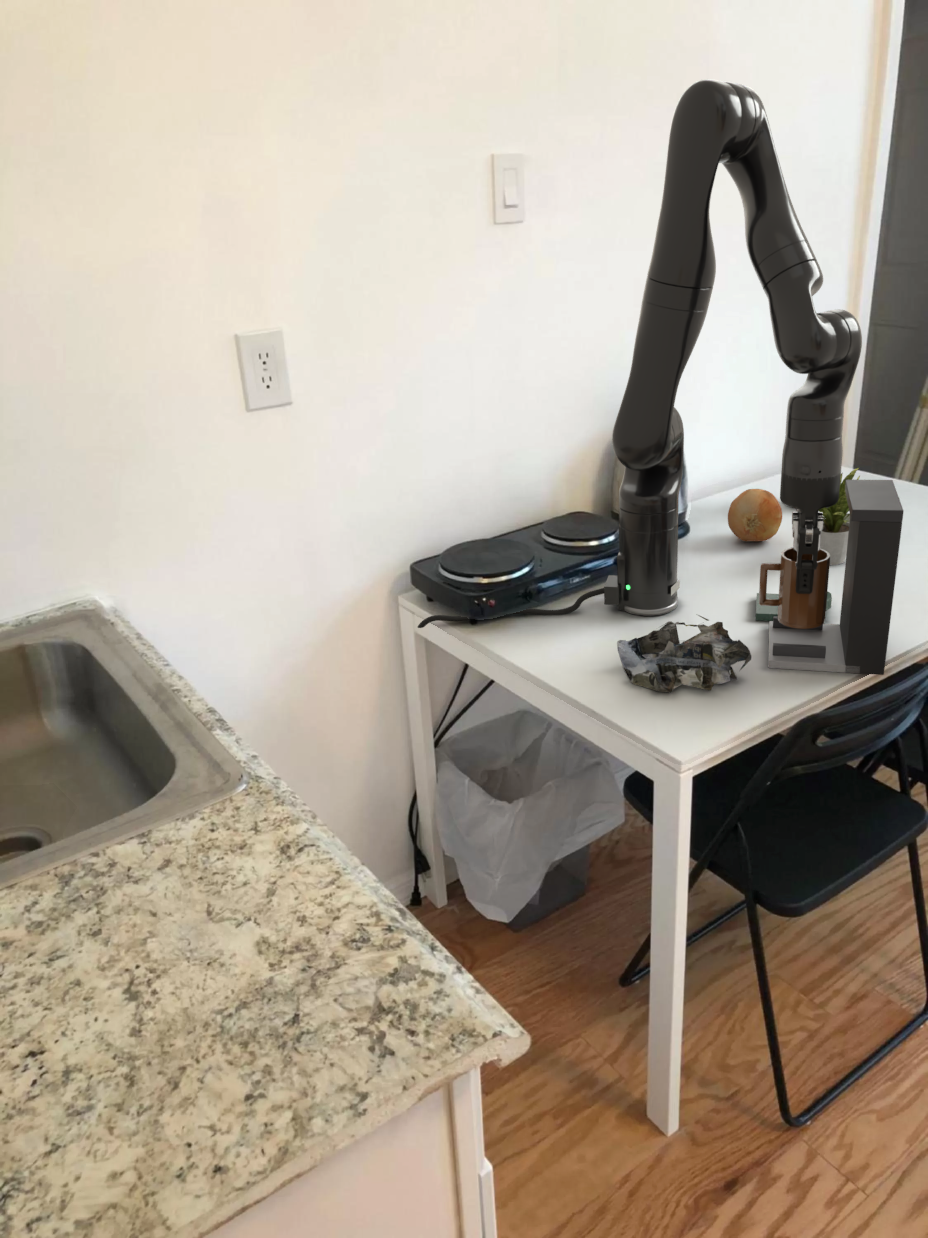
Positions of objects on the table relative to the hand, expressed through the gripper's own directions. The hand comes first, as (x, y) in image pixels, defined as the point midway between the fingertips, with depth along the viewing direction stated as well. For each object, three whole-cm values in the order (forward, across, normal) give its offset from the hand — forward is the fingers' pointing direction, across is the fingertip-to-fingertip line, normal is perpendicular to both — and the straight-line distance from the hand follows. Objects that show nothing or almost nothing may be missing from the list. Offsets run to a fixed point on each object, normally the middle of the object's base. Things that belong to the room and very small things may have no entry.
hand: (803, 582), depth 132 cm
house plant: (+11, +37, -6) cm, 39 cm away
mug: (+6, 0, +1) cm, 6 cm away
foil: (+11, -11, +16) cm, 22 cm away
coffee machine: (+10, 0, -3) cm, 11 cm away
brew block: (+10, +13, +1) cm, 17 cm away
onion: (+11, +44, +7) cm, 46 cm away
